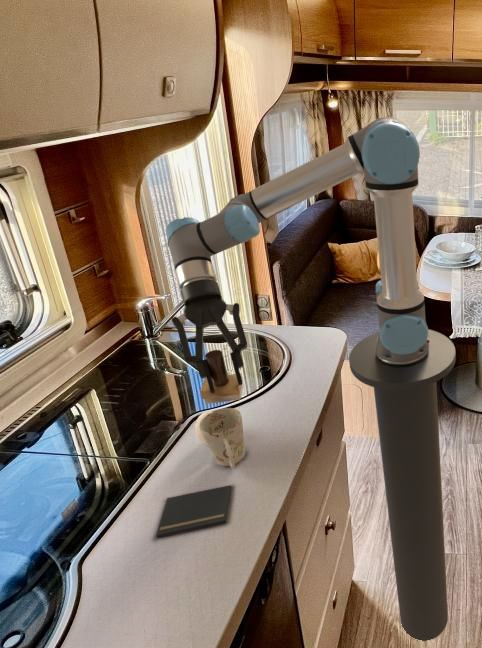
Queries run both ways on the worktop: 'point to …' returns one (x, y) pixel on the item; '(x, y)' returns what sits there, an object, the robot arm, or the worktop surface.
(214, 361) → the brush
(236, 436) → the mug
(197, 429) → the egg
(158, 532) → the counter mat
